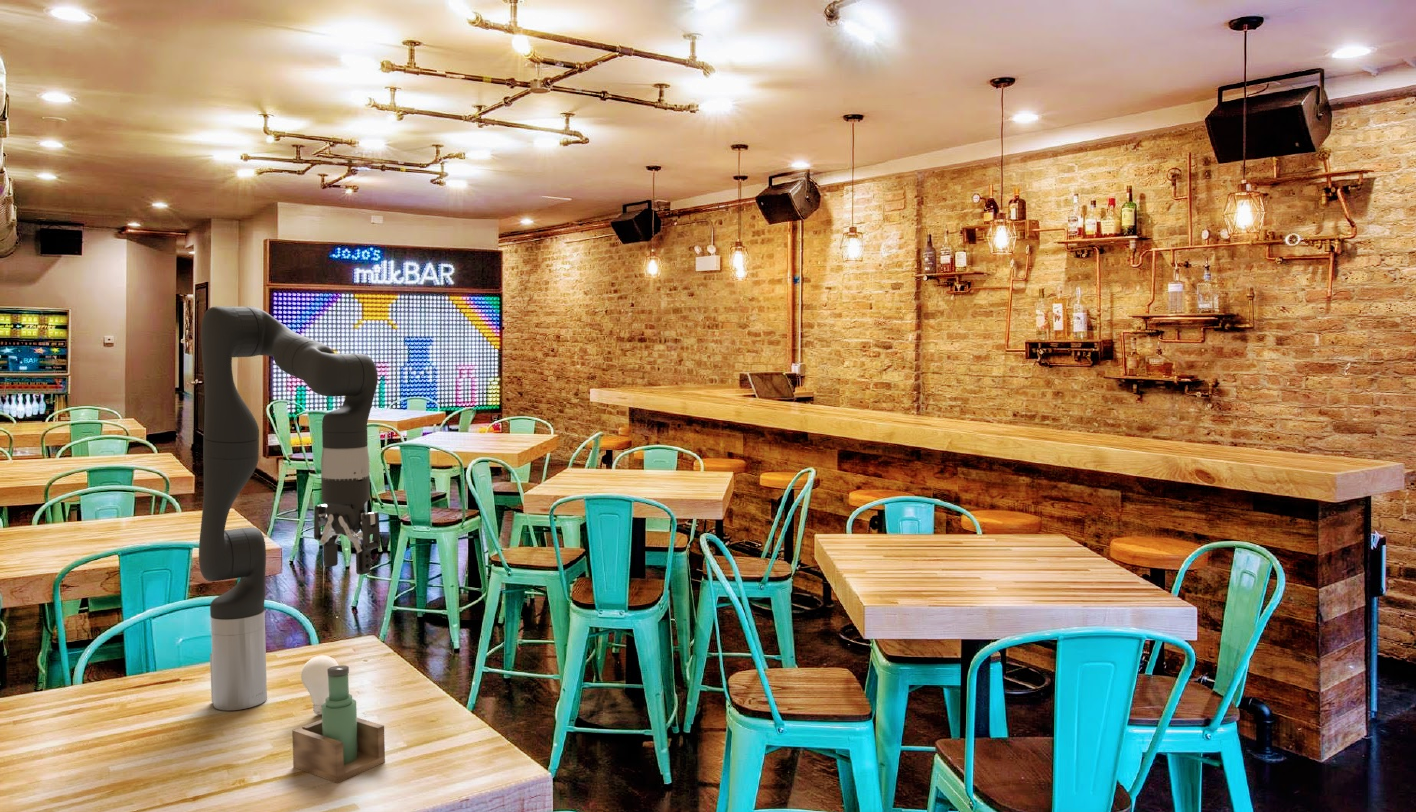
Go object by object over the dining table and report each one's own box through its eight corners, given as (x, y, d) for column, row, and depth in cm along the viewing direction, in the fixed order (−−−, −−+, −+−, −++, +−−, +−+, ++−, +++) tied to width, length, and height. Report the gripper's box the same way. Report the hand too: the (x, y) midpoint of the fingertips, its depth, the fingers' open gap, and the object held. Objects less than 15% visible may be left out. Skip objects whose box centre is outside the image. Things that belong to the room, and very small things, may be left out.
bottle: (316, 761, 153) (313, 670, 153) (343, 749, 158) (341, 661, 157) (336, 768, 151) (334, 676, 150) (364, 756, 155) (362, 666, 154)
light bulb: (327, 723, 172) (325, 663, 171) (294, 720, 173) (292, 660, 173) (348, 709, 178) (347, 651, 178) (316, 707, 180) (315, 649, 179)
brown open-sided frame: (293, 767, 154) (292, 730, 153) (341, 747, 161) (340, 712, 161) (337, 783, 148) (336, 745, 147) (384, 762, 155) (384, 725, 155)
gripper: (299, 472, 160) (300, 568, 161) (353, 480, 152) (354, 581, 153) (338, 467, 166) (339, 560, 167) (392, 475, 158) (393, 571, 159)
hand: (346, 569), depth 160 cm, fingers open, 8 cm apart
